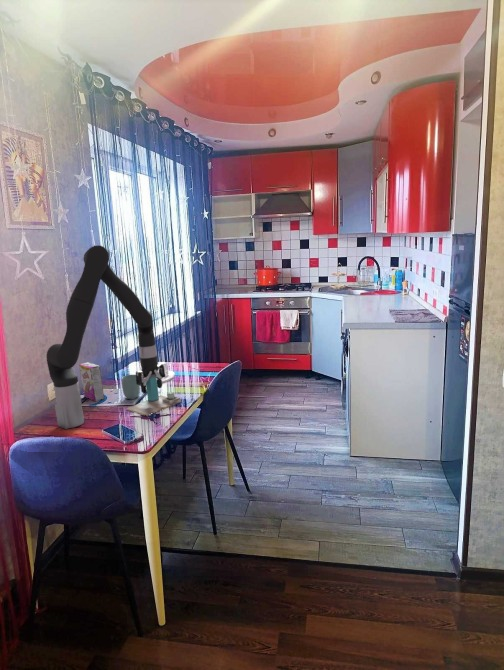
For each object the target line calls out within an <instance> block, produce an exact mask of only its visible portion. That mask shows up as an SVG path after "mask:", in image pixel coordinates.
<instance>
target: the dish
mask: <svg viewBox="0 0 504 670" xmlns="http://www.w3.org/2000/svg"><path fill="white" fill-rule="evenodd" d="M138 363H139V366H140V367H139V368H140V371H141V370H142V367H141V364H140V360H139V361H138ZM158 364H162V365H164V371H165V377H163V378H162V384H163V383H167V382H170V381H172V380H174V378H175V375H176V374H175V372H174V371H172V370H169V367H168V362H158ZM157 366H158V365H157ZM157 372H158V373H159V369H158V371H157ZM132 375H136V372H134V373H133V374H132ZM142 375H143V374H142ZM156 379H157V378H156ZM140 387H141V385H140Z"/></svg>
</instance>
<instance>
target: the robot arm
mask: <svg viewBox="0 0 504 670" xmlns="http://www.w3.org/2000/svg"><path fill="white" fill-rule="evenodd" d="M109 262H110V253H109V251H108V249H107V248H106V247H104V246H103V245H93V246H91V247H89V248H88V249H87V251H85V253H84V254H83V263H84V267H83V270H82V274H81V276H80V278H79V280H78V282H77V283H76V286H75V287H74V289H73V291H72V293H71V296H70V298H69V301H68V304H67V306H66V312H65V320H66V323H65V324H66V330H65V335H64V337H63V341H62V343H55V344H53V345H51V346H50V347H49V348H48V349H47V352H46V364H47V368H48V373H49V377H50V379H51V381H52V383H53V388H54V394H55V395H54V396H55V400H56V401H55V402H56V403H54V410H55V415H56V416H55V417H56V422H57V426H58V427H59V428H63V429H65V430H67V429H72V428H76V427H79V426H81V425H83V424H84V423H85V417H84V411H83V404H82V398H81V392H80V391H81V390H80V385H79V377H78V374H77V373H75V372H74V370H73V369H72V368H73V367H74V366H75V365H76V364H77V362H78V359H79V355H80V352H81V347H82V342H83V338H84V335H85V332H86V329H87V326H88V323H89V319H90V317H91V314H92V311H93V308H94V304H95V301H96V298H97V294H98V290H99V285H100V282H101V281H102V282H103V283H104V285H106V287H107V288H108V289H109V290H110V291H111V293H113V295H114V296H115V298H117V300H118V302H119V303H120V304H121V305H122V306H123V307H124V309H125V310H126V311H128V313H129V315H130V316H131V318H132V319H133V321H134V322H135V323H136V326H137V331H138V332H137V333H138V335H137V339H138V341H137V342H138V353H139V354H138V355H139V361H140V363H139V365H140V364H141V367H142V370H141V369H140V371H138V370H137V371H135V373H136V384H137V385H141V386H140V392H141V393H142V394H144V395H145V394H146V395H147V388H146V382H147V381H148V380H149V377H150V375H153V374H156V378H157V388H159V389H162V387H163V383H162V378H163V377H165V371H164V365H162V364H158V363H159V361H158V360H159V359H158V351H157V346H156V338H155V333H154V323H153V314H152V313H151V311H150V310H148V309H146V308H145V306H144V305H143V304H142V302H141V300H140V298H139V297H138V295H137V294H136V293H135V292H134V290H133V289H132V288H131V287H130V286H129V285H128V284H127V283H126V281H124V280H122V278H120V277H119V276H118V275H117V274H116V273H115V272H114V270H113V269H112V267H111V266H110V265H109ZM157 365H158V366H157ZM158 369H159V373H158V372H157V371H158ZM142 374H143V375H142ZM145 377H146V378H145Z"/></svg>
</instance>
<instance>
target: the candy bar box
mask: <svg viewBox="0 0 504 670" xmlns="http://www.w3.org/2000/svg"><path fill="white" fill-rule="evenodd" d="M78 366H79V372H80V379H81V385H82V391H83V398H85V397H87V398H86V399H88V398H89V400H90V399H91V401H93V402H95V401H96V402H99V401H102V400H104V399H105V391H104V387H103V379H102V373H101V366H100V365H98V364H95V363H92V362H90V361H89V362H87V361H86V362H84V363H80V364H78ZM101 399H102V400H101Z"/></svg>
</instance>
